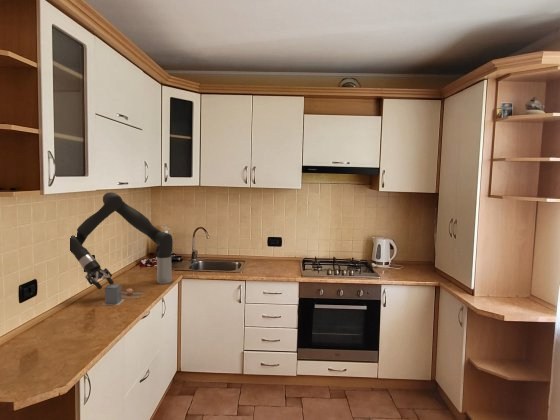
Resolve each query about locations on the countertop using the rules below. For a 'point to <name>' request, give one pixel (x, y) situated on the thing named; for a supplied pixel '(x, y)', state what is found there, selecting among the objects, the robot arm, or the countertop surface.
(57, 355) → the countertop surface
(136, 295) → the walnut board
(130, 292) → the pink rounded lump
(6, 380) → the countertop surface
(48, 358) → the countertop surface
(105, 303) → the rubber mat
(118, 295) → the grey upright block
